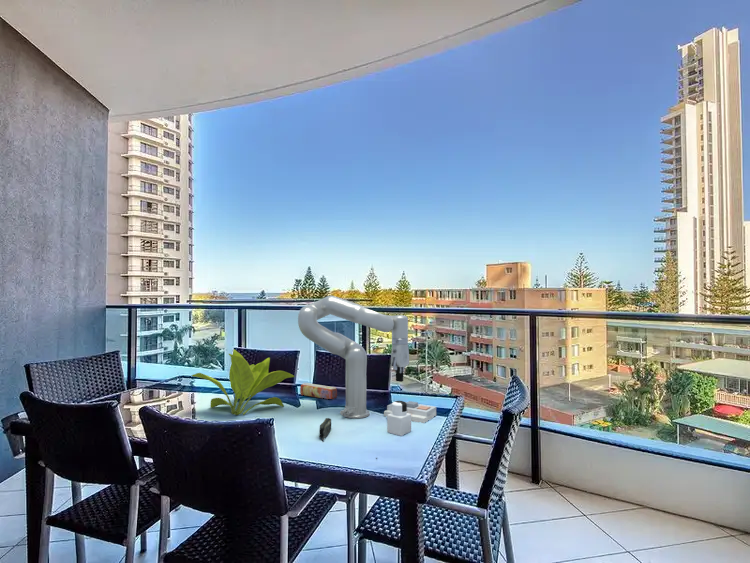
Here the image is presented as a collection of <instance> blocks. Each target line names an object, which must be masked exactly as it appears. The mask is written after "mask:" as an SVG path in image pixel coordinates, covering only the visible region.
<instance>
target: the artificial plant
mask: <svg viewBox="0 0 750 563" xmlns="http://www.w3.org/2000/svg"><path fill="white" fill-rule="evenodd" d="M228 355H229V357H230V362H231V364H230V368H229V374H228V376H229V382H230V388H231V390H232V391H233V393H234V400H233V401H234V402H233V404H232V400H231V399H230V396H229V395H228V392H227V391H226V389H225V387H224V385H223V384H222V383H221V382H220V381H219V380H217V379H216V378H213V377H212V376H210V375H207V374H205V373H202V372H197V373H195V374H194V373H193V374H191V376H192V377H195V378H198V379H199V378H200V379H204V380H207V381H209V382H211V383H213V384H214V385H215V386H217V387H218V388H219V389H220V390H221V392H223V393H224V395H225V396H226V399H227V400H228V401H226V399H224V398H221V397H214V398H211V399H210V405H209V406H210V408H211V409H212V408H215V407H218V406H223V405H224V406H225V405H226V406H229V407H230V411H231V412H230V413H231V415H234V416H239V415H241V414H242V415H243V416H245V415H246V413H248V412H249V410H251V409H253V408H255V406H259V405H262V406H263V405H264V406H266V405H267V406H268V405H276V406H280V407H282V408H284V407H285V406H284V403H283V401H282V400H281V399H280V398H279V397H277V396H276V397H275V396H273V397H269V398H266V399H264V400H262V401H260V402H257V403H255V404H253V405H252V406H250V407H249V408H248V409H246V410H245V408H246V405H247V404H248V403H249V402H250V400H251V399H252V398H253V397H254V396H256V395H257V394H259V393H261V392H262V391H264V390H265V389H268V388H270V387H274V386H275V385H278V384H279V383H282V381H284V380H285V379H289V378H295V375H293V374H291V373H290V372H287V371H286V370H285V371H284V370H276V371H271V372H269V368H270V363H271V357H267V358H265V359H264V360H262V361H261V362H259V363H257V364H254V363H253V364H249V362H248V361H247V360H246V359H245V358H244V355H242V354H241V353H240V352H238V351H237V350H236V349H233V351H232V354H231V353H228ZM245 401H246V402H245ZM244 402H245V403H244ZM243 403H244V404H243ZM242 405H243V406H242ZM236 406H237V407H236ZM244 410H245V411H244Z"/></svg>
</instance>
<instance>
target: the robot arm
mask: <svg viewBox="0 0 750 563" xmlns="http://www.w3.org/2000/svg"><path fill="white" fill-rule="evenodd" d="M330 315H332V316H334V317H338V318H341V319H343V320H346V321H349V322H352V323H355V324H358V325H362V326H365V327H368V328H371V329H374V330H377V331H379V332H383V333H388V332H389V333H390V332H391V346H392V347H391V355H390V356H391V357H390V364H391V366H392V367H393V368H392V369H393V370H394V374H395V382H399V383H401V382H404V372H405V368H406V367H407V366H408V365H409V364H410V350H409V318H408V316H406V315H401V314H398V315H397V314H396V315H388V314H384V313H380V312H377V311H374V310H372V309H369V308H367V307H365V306H363V305H360V304H358V303H357V302H356V303H355V302H353V301H350V300H346V299H344V298H341V297H338V296H335V295H326V296H325V297H323V298H321V299H319V300H317V301H314V302H312V303H310V304H307V305H304V306H303V307H301V308H300V309H299V311H298V317H297V324H298V329H299V330H300V332H301V334H302V336H304V337H305V338H307V339H308V340H309V341H311V342H313V343H314V344H316V345H318V346H319V347H321V348H322V349H325V351H327V352H329V353H330V354H331V355H337V356H339V357H341V358H343V359H344V360H345V405H344V409H342V410H340V411H339V412H340V415H341V416H342V417H344V418H347V419H348V418H349V419H363V418H366V417H367V418H368V416H370V412H371V411H370V410H368V409H367V365H368V356H367V352H366V350H365V348H364V347H363V346H362V345H361V344H360V343H358V342H356V341H354V340H352V339H350V338H349V337H347V336H345V335H344V334H342V333H340V332H337V331H336V332H335V331H332V330H331V329H329V328H328V327H326V326H324V325H322V324H320V323H319V322H318V320H320V319H323V318H325V317H328V316H330Z"/></svg>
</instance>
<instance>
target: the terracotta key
mask: <svg viewBox="0 0 750 563" xmlns="http://www.w3.org/2000/svg"><path fill="white" fill-rule="evenodd" d="M417 409H421V410H428V409H430V407H426V406H420V407H418V408H417Z"/></svg>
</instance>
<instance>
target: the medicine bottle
mask: <svg viewBox="0 0 750 563" xmlns="http://www.w3.org/2000/svg"><path fill="white" fill-rule="evenodd" d="M406 402H407V401H403V400H396V401H393V402H392V403H391V404H392V413H390V414H388V415H387V416H386V417H387V418H386V426H387V428H386V431H387V433H390V434H392V435H397V436H400V437H402V436H404V434H405V435H406V434H408V433H411V432H412V421H411V414H409V413H407V403H406Z"/></svg>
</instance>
